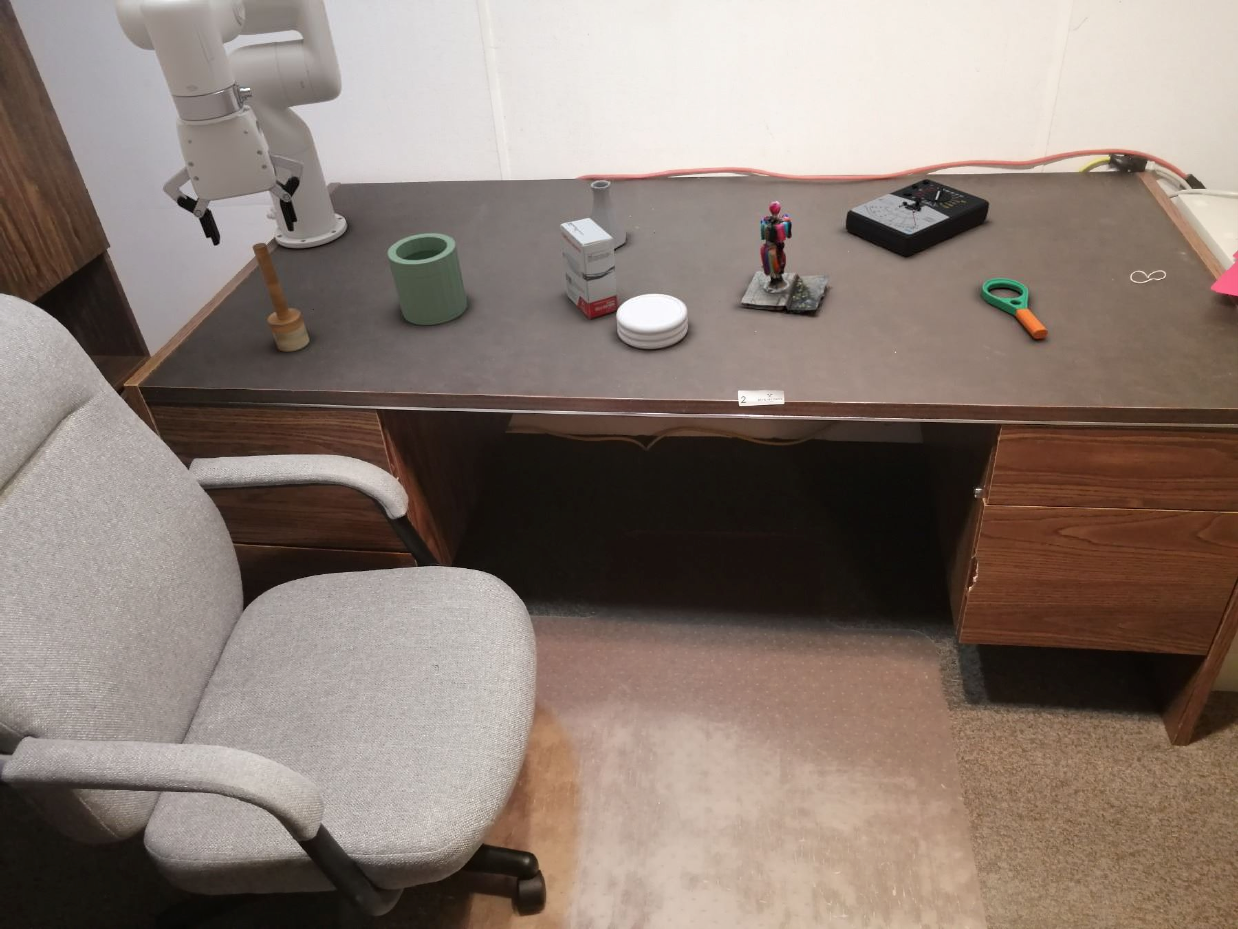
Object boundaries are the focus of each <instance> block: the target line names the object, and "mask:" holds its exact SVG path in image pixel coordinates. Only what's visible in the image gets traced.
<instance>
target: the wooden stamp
mask: <svg viewBox="0 0 1238 929" xmlns="http://www.w3.org/2000/svg"><path fill="white" fill-rule="evenodd" d="M252 250H253V253H254V255H255V258H256V261H257V264H258V267H259V270H260V273H261V275H262V278H263V281H264V284H265V286H266V289H267V293H268V295H269V297H270V300H271V304H272V306H273V309H274V312H272V313H271V314H270V315H269V316H268V318H267V322H268V325H269V328H270V331H271V333H272V336H273V339H274V341H275V344H276V347H277V349H278V350H279V351H280V352H281V351H282V352H294V351H298V350H302V349H303V348H304V347H306V346H307V345H308V344H309V343H310V336H309V334H308V330H307V329H306V325H305V322H304V319H303V316H302V313H301V311H300V310H299V309H296V308H293V307H292V308H290V307H289V306H288V304H287V301H286V298H285V294H284V292H283V289H282V286H281V283H280V281H279V278H278V275H277V272H276V269H275V266H274V263H273V260H272V258H271V254H270V252H269V248H268V246H267V244H266V242H258V243H255V244H253V246H252Z"/></svg>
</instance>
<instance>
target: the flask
mask: <svg viewBox="0 0 1238 929" xmlns="http://www.w3.org/2000/svg"><path fill="white" fill-rule="evenodd" d="M610 188H611V181H609V180H605V179H604V180H595V181H593V182H591V184H590V189H591V191H592V194H593V195H592V197H593V201H592V211H591V215H590V219H591V220H592V221H594V222H595V223H596V224H597V225H598V226H599V227H601V228H602V229H603V230H604V231H605V232H606V233H608V234H609V235H610V236H611V237H612V238H613V242H614V250H615V249H617V248H618V247H620V246H622V245H623V244H625V243H626V240H627V233H626V230H625V229H624V227H623V225H622V222H621V221H620V219H619V217H618V214H617V212H616V210H615V207H614V205H613V201H612V198H611V194H610Z"/></svg>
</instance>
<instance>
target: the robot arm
mask: <svg viewBox="0 0 1238 929" xmlns="http://www.w3.org/2000/svg"><path fill="white" fill-rule="evenodd" d="M113 3H114V8H115V13H116V17H117V21H118V24H119V27H120V28H121V31H122V32H123V34H124V35H125V37H126V38H127V40H129V42H131V43H132V44H133V45H134V46H135V47H138V48H139V49H141V50H147V51H154V52H155V55H156V58H157V60H158V63H159V65H160V68H161V71H162V73H163V76H164V79H165V82H166V84H167V86H168V90H169V92H170V95H171V98H172V101H173V103H174V106H175V108H176V111H177V114H178V116H177V117H176V118H175V125H176V132H177V137H178V142H179V146H180V149H181V154H182V157H183V161H184V163H185V166H184V167H183V168H182V169H180V170H179V171H178V172H177V173H175V174H174V175H173V176H171V178H169V179H168V180H166V182H164V184H163V187H162V190H163V192H164V193H165V194H166V195H167V196H168V197H170V198H171V199H172V200H173V201H174V202H175V203H176V205H178V207H180V208H181V209H183V210H185V211H187V212H189V213H191V214H193V216H194V217H195V218H196V219H198V220H199V224H200V225H201V228H202V231H203V233H204V236H205V238H206V239H211V243H212V245H213V246H214V247H216V246H219V245H220V243H221V233H220V231H219V228H218V225H217V223H216V220H215V218H214V217H215V216H214V215H213V212H212V210H211V209H210V208H209V207H208V206H209V204H210V202H214V201H220V200H226V199H231V198H233V199H234V198H238V197H244V196H250V195H254V194H261V193H265V192H269V195H270V198H271V201H272V204H270V207H269V208H270V210H268V211H267V212H266V214H265V215H266V218H267V219H269V220H274V221H275V222H276V225H277V228H275V230H274V233H273V234H274V235H273V236H274V239H275V242H276V243H277V244H278V245H279V246H282V247H284V248H289V249H307V248H314V247H318V246H321V245H325V244H328V243H330V242H333V241H335V240H336V239H338V238H339V237H341V236H342V235H344V233H345V232H346V231H347V228H348V224H347V221H346V219H345V217H344V216H342V215H341V214H338V213H335V210H334V206H333V204H332V200H331V197H330V192H329V190H328V186H327V182H326V180H325V176H324V172H323V168H322V165H321V161H320V158H319V155H318V151H317V148H316V144H315V141H314V137H313V134H312V132H311V129H310V128H309V126H308V124H307V123H306V122H305V121H304V119H303V118H302V117H301V116H300V115H298V114H297V113H296V112H295V111H294V110H292V108H293V107H297V106H305V105H313V104H319V103H326V102H331V101H334V100H336V99H338V97H339V96H340V95H341V92H342V89H343V88H342V87H343V83H342V82H343V81H342V74H341V70H340V64H339V61H338V57H337V53H336V47H335V44H334V39H333V36H332V31H331V30H332V29H331V27H330V22H329V18H328V14H327V9H326V5H325V2H324V0H113ZM290 31H296V32H298V33H299V34H300V35H301V37H302V38H300V39H299V38H298V39H292V40H284V41H283V40H282V41H272V42H264V43H255V44H248V45H244V46H240V47H238V48H236V49H233V50H232V51H230V53H229V54H227V51H226V49H225V46H224V45H225V44H226V43H229V42H233V41H234V40H235V39H236V38H238V37H239V36H255V35H265V34H272V33H273V34H274V33H281V32H290ZM188 181H190V184H191V186H192V189H193V191H194V193H195V195H196V197H197V198H196V199H195V198H193V197H191V196H189V195H187V194H185V193H184V192H183V191H182V190H181V187H182V186H183V185H185V184H186V183H188Z"/></svg>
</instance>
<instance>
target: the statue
mask: <svg viewBox="0 0 1238 929" xmlns="http://www.w3.org/2000/svg"><path fill="white" fill-rule="evenodd" d="M781 207H782V206H781V204H780V202H779V201H778V200H775V201H772V202H771V203H770V204H769V207H768V208H769V212H770V215H766V216H764V217H763V218H761V219H760V237H761V238H760V240H761V241H765V242H764V243H763V244H761V246H760V248H759V252H760V259H761V263H762V265H761V268H762V270H763V271H760V270H756V272H755V273H754V276H753V278H752V279H751V282H750V283H749V286H748V287H747V289H746V291H745V293H744V295H743V297H742V299H741V300H740V303H741V305H740V308H746V309H748V308H752V309H755V310H763V309H765V310H770V311H771V310H775V311H781V310H783V309H784V307H786V309H787V314H795V313H796V314H799V313H804V312H806V311H810V313H812V312H813V311H814V310H817V308H818V306H819V304H821V303H822V302H823V301H822V300H821V298H822V297H825V294H826V292H824V291H825V288H826V286H828V281H829V278H830V275H829V274H827V275H826V274H822V275H821V274H820V275H819V274H818V275H805V276H804V275H803V276H799V274H798V272H785V268H786V265H787V255H786V253H785V251H784V248H785V246H786V244H785V241H787V240H788V239H789V240H790V239H791V238H792V237H793V234H792V226H793V223H792V221H791V219H790V218H789V216H788V214H787V213H785V214H783V215H782V216H781V214H780V212H781V209H782V208H781Z"/></svg>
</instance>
